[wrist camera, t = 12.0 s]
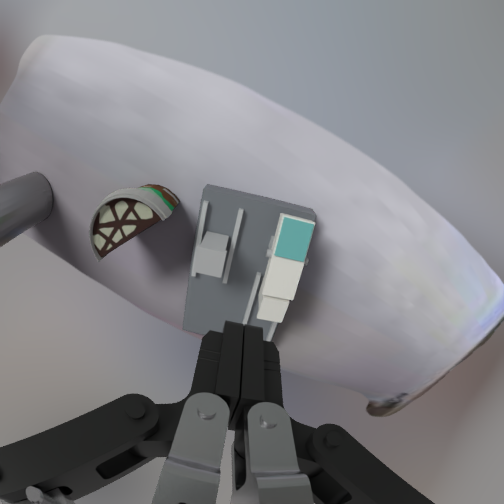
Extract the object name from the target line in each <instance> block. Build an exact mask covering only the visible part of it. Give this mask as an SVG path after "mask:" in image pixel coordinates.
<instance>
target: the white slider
mask: <svg viewBox="0 0 504 504" xmlns="http://www.w3.org/2000/svg"><path fill="white" fill-rule="evenodd" d="M263 279H264V277H263ZM262 283H263V281H262ZM261 287H262V284H261ZM261 287H260V291H259V310H258V313H257V319H263V320H268V321H274V322H279V323H282V321H283V318H284V316H285V313H286V310H287V308H288V305H289V300H287V299H282V298H277V297H272V296H267V295H262V291H261Z"/></svg>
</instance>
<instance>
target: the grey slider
mask: <svg viewBox="0 0 504 504" xmlns="http://www.w3.org/2000/svg"><path fill="white" fill-rule="evenodd" d="M228 238H229V236H227V235H223V234H218V233H214V232H209V231H207V232H206V234H205V236H204V239H203V241H202V243H201V245H199V244H198V246H197V253H196V259H195V265H194V272H197V273H201V274H206V275H210V276H215V277H219V278H221V276H222V271H223V267H224V262H225V257H226V253H227V251H226V247H227V243H228Z"/></svg>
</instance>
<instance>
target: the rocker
mask: <svg viewBox="0 0 504 504" xmlns="http://www.w3.org/2000/svg"><path fill="white" fill-rule="evenodd" d="M314 227H315V222H313V221H311V220H307V219H303V218H300V217H296V216H292V215H288V214H284V213H280V217H279V221H278V225H277V229H276V233H275V237H274V241H273V245H272V249H267V251H266V257H269V260H268V264H267V268H266V272H265V276H264V279H263V283H262V287H261V291H262V295H267V296H272V297H277V298H282V299H288V300H293V299H294V296H295V292H296V289H297V286H298V283H299V279H300V276H301V273H302V269H303V266H304V265H305V266H307V264H308V261H309V259H308V258H306V256H307V252H308V249H309V245H310V241H311V238H312V234H313V231H314Z"/></svg>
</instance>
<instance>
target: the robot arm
mask: <svg viewBox="0 0 504 504" xmlns="http://www.w3.org/2000/svg"><path fill="white" fill-rule="evenodd" d="M52 203H53V197H52V191H51V188H50V185H49V183H48V181H47V179H46V178H45V177H44V176H43V175H42V174H40V173H38V172H32V173H29V174H26V175H23V176H21V177H18V178H15V179H12V180H10V181H7V182H5V183H2V184H0V247H2V246H3V245H5V244H6V243H8V242H9V241H10V240H12V239H14V238H15V237H17V236H18V235H20V234H21V233H23V232H24V231H26V230H28V229H29V228H31V227H33V226H34V225H36V224H38V223H39V222H41V221H43V220H44V219H46V218H47V217H48V216H49V214H50V212H51V209H52ZM227 427H228V430H234V431H235V439H234V442H233V444H232V450H231V452H232V487H233V488H232V496H231V502H230V504H314V503H315V504H435V503H433V502H432V501H431V500H429V499H428V498H426V497H425V496H424V495H422V494H421V493H420V492H418V491H417V490H416V489H415V488H413V487H412V486H411V485H409V484H408V483H407V482H406V481H404V480H403V479H402V478H400V477H399V476H398V475H397V474H395V473H394V472H393V471H392V470H390V469H389V468H388V467H387V466H386V465H385V464H383V463H382V462H381V461H380V460H379V459H377V458H376V457H375V456H374V455H373V454H372V453H370V452H369V451H368V450H367V449H366V448H365V447H363V446H362V445H361V444H360V443H359V442H358V441H357V440H356V439H354V438H353V437H352V436H351V435H350V434H349V433H348V432H346V431H345V430H344V429H343V428H342V427H340V426H338V425H335V424H324V425H321V426H319V427H318V428H317V429H316V428H313V427H310V426H307V425H304V424H301V423H299V422H296V421H295V420H293V419H292V418H291V417H290V416H289V415H288V413H287V412H286V411H285V409H284V407H283V398H282V385H281V373H280V359H279V351H278V350H277V348H276V346H275V344H274V343H273V342H270V341H264V340H263V328H262V327H258V326H252V325H247V324H244V325H243V324H242V323H237V322H232V321H227V320H225V323H224V328H223V332H222V333H221V332H217V331H212V330H209V332H208V333H207V334H206V335H205V336H204V337H203V338H202V343H201V347H200V351H199V356H198V360H197V365H196V369H195V373H194V378H193V383H192V387H191V391H190V393H189V394H188V396H187V397H186V398H185V399H183V400H182V401H180V402H177V403H172V404H155V403H154V402H153V401H152V400H151V399H149V398H148V397H145V396H143V395H140V394H127V395H124V396H122V397H120V398H118V399H116V400H114V401H112V402H110V403H107V404H105V405H103V406H101V407H99V408H97V409H95V410H93V411H91V412H88V413H86V414H84V415H81V416H79V417H77V418H75V419H73V420H70V421H68V422H65V423H63V424H61V425H58V426H56V427H54V428H51V429H49V430H46V431H44V432H41V433H39V434H36V435H34V436H31V437H28V438H26V439H23V440H20V441H17V442H15V443H12V444H9V445H6V446H3V447H0V500H1V502H2V504H75V503H74V500H76V499H79V498H81V497H83V496H85V495H88V494H89V493H92V492H94V491H96V490H98V489H100V488H102V487H104V486H106V485H108V484H110V483H112V482H114V481H116V480H117V479H120V478H121V477H123V476H125V475H127V474H129V473H130V472H132V471H134V470H136V469H137V468H139V467H141V466H143V465H144V464H146V463H148V462H149V461H151V460H152V459H154V458H156V457H167V458H166V460H165V462H164V465H163V468H162V471H161V474H160V478H159V481H158V484H157V488H156V491H155V494H154V497H153V501H152V504H216V498H217V493H218V487H219V482H220V464H221V458H222V453H223V448H224V443H225V437H226V432H227Z"/></svg>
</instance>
